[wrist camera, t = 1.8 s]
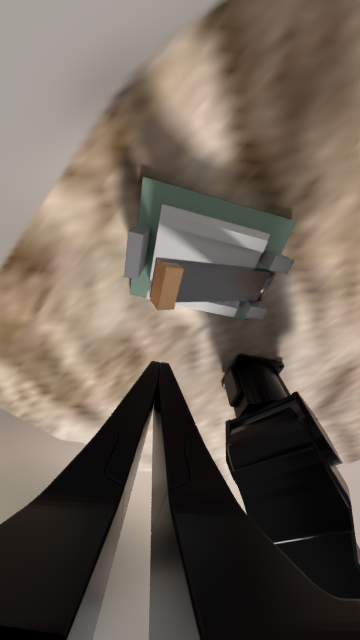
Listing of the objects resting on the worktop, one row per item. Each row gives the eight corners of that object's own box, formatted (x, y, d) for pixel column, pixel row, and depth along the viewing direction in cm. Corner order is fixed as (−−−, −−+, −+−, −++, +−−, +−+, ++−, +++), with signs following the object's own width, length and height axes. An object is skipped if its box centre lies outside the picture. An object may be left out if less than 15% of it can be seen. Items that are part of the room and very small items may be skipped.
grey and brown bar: (268, 269, 15) (286, 277, 14) (255, 295, 17) (271, 305, 15) (153, 256, 10) (166, 267, 9) (147, 295, 12) (157, 310, 10)
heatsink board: (291, 220, 17) (333, 226, 12) (245, 316, 22) (262, 346, 17) (144, 177, 15) (129, 166, 11) (131, 291, 20) (116, 316, 16)
